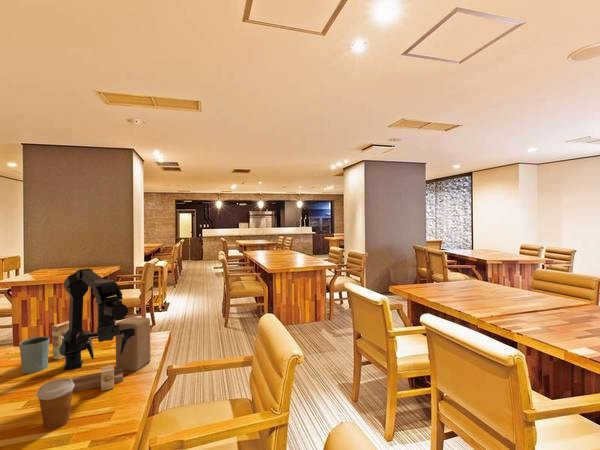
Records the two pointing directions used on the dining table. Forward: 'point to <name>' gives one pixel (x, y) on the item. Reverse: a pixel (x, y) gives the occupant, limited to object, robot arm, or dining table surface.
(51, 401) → the disposable coffee cup
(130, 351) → the wooden block
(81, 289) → the robot arm
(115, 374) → the walnut board
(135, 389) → the dining table surface
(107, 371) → the block
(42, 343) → the grey embossed cup
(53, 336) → the candy box
